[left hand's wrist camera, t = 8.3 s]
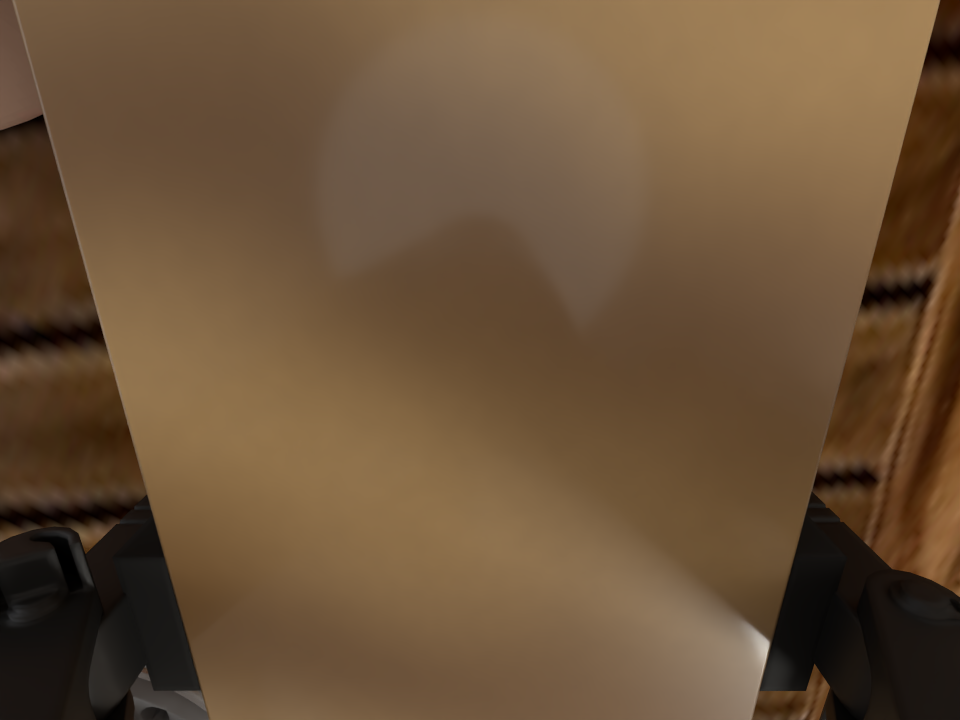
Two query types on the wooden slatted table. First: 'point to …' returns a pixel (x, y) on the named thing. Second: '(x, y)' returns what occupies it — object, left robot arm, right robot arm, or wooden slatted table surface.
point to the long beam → (477, 328)
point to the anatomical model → (15, 73)
